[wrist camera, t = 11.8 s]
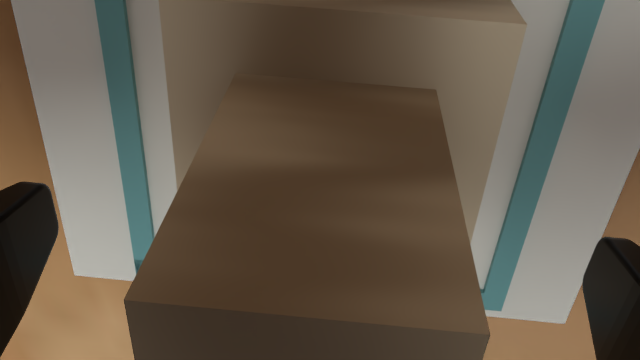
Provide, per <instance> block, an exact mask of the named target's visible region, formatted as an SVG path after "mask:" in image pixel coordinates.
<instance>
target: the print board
mask: <svg viewBox="0 0 640 360" xmlns="http://www.w3.org/2000/svg"><path fill="white" fill-rule="evenodd" d="M511 1H512V3H513V4H514V6H515V7H516V9H517V10H518V12H519V13H520V15H521V16H522V18H523V19H524V21H525V22H526V23H527V27H526V31H525V35H524V39H523V43H522V47H521V51H520V55H519V58H518V62H517V66H516V70H515V74H514V78H513V82H512V85H511V89H510V93H509V97H508V101H507V105H506V109H505V112H504V116H503V120H502V124H501V128H500V132H499V136H498V140H497V143H496V147H495V151H494V155H493V159H492V163H491V167H490V170H489V174H488V178H487V182H486V186H485V190H484V194H483V197H482V201H481V205H480V209H479V213H478V217H477V221H476V225H475V228H474V232H473V236H472V240H471V244H470V246H471V250H472V255H473V259H474V264H475V268H476V273H477V277H478V282H479V286H480V291H481V296H482V300H483V305H484V309H485V314H486V316H490V317H500V318H510V319H520V320H530V321H540V322H550V323H560V324H565V322H566V320H567V317H568V315H569V313H570V310H571V308H572V306H573V303H574V301H575V299H576V296H577V294H578V291H579V289H580V287H581V284H582V282H583V276H584V273H585V271H586V268H587V266H588V263H589V261H590V259H591V256H592V254H593V252H594V249H595V247H596V245H597V243H598V241H599V240H600V239H601V238H602V235H603V233H604V231H605V228H606V226H607V224H608V221H609V219H610V217H611V214H612V212H613V209H614V207H615V205H616V202H617V200H618V198H619V195H620V193H621V191H622V188H623V186H624V184H625V181H626V179H627V177H628V174H629V172H630V170H631V167H632V165H633V163H634V160H635V158H636V156H637V153H638V151H639V149H640V0H511ZM11 4H12V8H13V12H14V17H15V21H16V25H17V29H18V34H19V38H20V42H21V47H22V51H23V55H24V60H25V64H26V68H27V73H28V77H29V81H30V85H31V90H32V94H33V98H34V103H35V107H36V111H37V116H38V120H39V124H40V129H41V133H42V137H43V141H44V146H45V150H46V154H47V159H48V163H49V167H50V172H51V176H52V180H53V185H54V189H55V193H56V198H57V202H58V206H59V210H60V215H61V219H62V223H63V228H64V232H65V236H66V241H67V245H68V249H69V254H70V258H71V262H72V266H73V271H74V275H76V276H86V277H97V278H107V279H117V280H127V281H133V280H134V278H135V276H136V274H137V272H138V270H139V268H140V266H141V264H142V262H143V260H144V258H145V256H146V254H147V252H148V250H149V248H150V246H151V244H152V242H153V240H154V238H155V236H156V234H157V232H158V230H159V227H160V225H161V223H162V221H163V219H164V217H165V215H166V213H167V211H168V209H169V207H170V205H171V203H172V201H173V199H174V197H175V195H176V193H177V184H176V174H175V164H174V154H173V143H172V133H171V123H170V113H169V103H168V92H167V82H166V72H165V62H164V52H163V41H162V31H161V21H160V11H159V0H11Z"/></svg>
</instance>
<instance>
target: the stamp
mask: <svg viewBox="0 0 640 360" xmlns="http://www.w3.org/2000/svg"><path fill="white" fill-rule="evenodd" d="M159 11H160V21H161V31H162V41H163V52H164V62H165V72H166V82H167V92H168V103H169V113H170V123H171V133H172V143H173V154H174V164H175V174H176V184H177V193H176V195H175V197H174V199H173V201H172V203H171V205H170V207H169V209H168V211H167V213H166V215H165V217H164V219H163V221H162V223H161V225H160V227H159V230H158V232H157V234H156V236H155V238H154V240H153V242H152V244H151V246H150V248H149V250H148V252H147V254H146V256H145V258H144V260H143V262H142V264H141V266H140V268H139V270H138V272H137V274H136V276H135V278H134V280H133V282H132V284H131V286H130V288H129V290H128V292H127V294H126V296H125V299H124V304H125V309H126V315H127V320H128V326H129V331H130V337H131V342H132V347H133V353H134V358H135V360H482V359H483V356H484V353H485V349H486V346H487V343H488V340H489V337H490V332H489V327H488V323H487V318H486V314H485V309H484V305H483V300H482V296H481V291H480V286H479V282H478V277H477V273H476V268H475V264H474V259H473V255H472V250H471V246H470V244H471V240H472V236H473V232H474V228H475V225H476V221H477V217H478V213H479V209H480V205H481V201H482V197H483V194H484V190H485V186H486V182H487V178H488V174H489V170H490V167H491V163H492V159H493V155H494V151H495V147H496V143H497V140H498V136H499V132H500V128H501V124H502V120H503V116H504V112H505V109H506V105H507V101H508V97H509V93H510V89H511V85H512V82H513V78H514V74H515V70H516V66H517V62H518V58H519V55H520V51H521V47H522V43H523V39H524V35H525V31H526V27H527V23H526V22H525V21H524V19H523V18H522V16H521V15H520V13H519V12H518V10H517V9H516V7H515V6H514V4H513V3H512V1H511V0H159Z"/></svg>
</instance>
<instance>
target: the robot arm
mask: <svg viewBox="0 0 640 360" xmlns="http://www.w3.org/2000/svg"><path fill="white" fill-rule="evenodd" d="M57 235H58V220H57V215H56V211H55V207H54V203H53V199H52V194H51V191H50V189H49V187H48V186H47V185H45V184H43V183H33V182H19V183H16V184H14V185H12V186H10V187H7V188H5V189H3V190H0V357H1V355H2V353H3V352H4V350H5V348H6V346H7V344H8V343H9V341H10V339H11V337H12V336H13V334H14V332H15V330H16V328H17V327H18V325H19V323H20V321H21V319H22V317H23V315H24V313H25V311H26V309H27V307H28V305H29V302H30V300H31V298H32V295H33V293H34V291H35V288H36V286H37V284H38V281H39V279H40V276H41V274H42V272H43V269H44V267H45V265H46V262H47V260H48V257H49V255H50V253H51V250H52V248H53V246H54V243H55V241H56V238H57ZM583 293H584V298H585V303H586V308H587V313H588V319H589V324H590V329H591V334H592V339H593V344H594V349H595V355H596V360H640V247H639V246H638V245H637V244H635V243H634V242H632V241H631V240H628V239H623V238H612V237H604V238H602V239H600V240H599V241H598V243H597V245H596V247H595V249H594V252H593V254H592V256H591V259H590V261H589V263H588V266H587V268H586V271H585V273H584V276H583Z"/></svg>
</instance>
